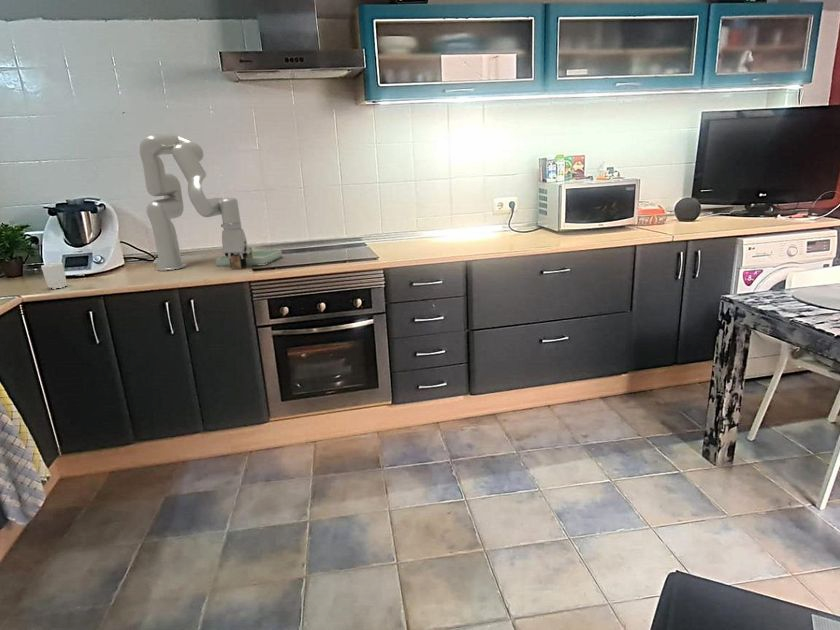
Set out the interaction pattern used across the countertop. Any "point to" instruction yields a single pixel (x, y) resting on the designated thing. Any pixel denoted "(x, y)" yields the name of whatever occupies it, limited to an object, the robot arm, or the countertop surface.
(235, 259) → the oak block
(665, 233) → the countertop surface
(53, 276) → the white cup
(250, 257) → the walnut block
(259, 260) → the tray
